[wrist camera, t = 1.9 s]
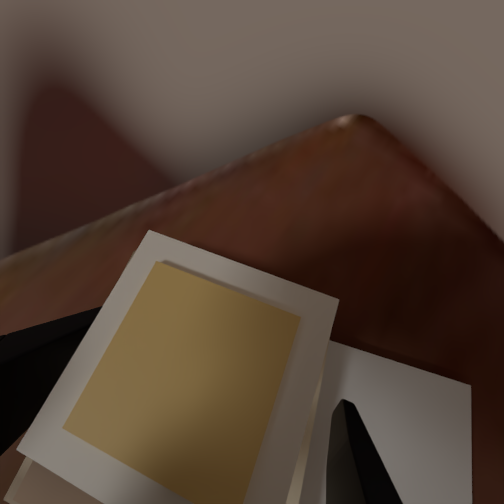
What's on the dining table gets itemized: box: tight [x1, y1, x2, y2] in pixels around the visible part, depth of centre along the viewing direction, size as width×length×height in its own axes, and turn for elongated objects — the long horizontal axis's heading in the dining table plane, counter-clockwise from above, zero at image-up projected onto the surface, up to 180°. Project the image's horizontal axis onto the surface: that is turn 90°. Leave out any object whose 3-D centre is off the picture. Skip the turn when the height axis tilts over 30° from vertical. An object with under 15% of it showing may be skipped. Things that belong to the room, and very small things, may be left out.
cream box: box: [16, 230, 339, 504], centre depth 10 cm, size 5×5×12 cm
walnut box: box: [13, 460, 104, 504], centre depth 13 cm, size 7×4×4 cm, turn 162°
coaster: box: [299, 340, 472, 504], centre depth 14 cm, size 9×9×1 cm
